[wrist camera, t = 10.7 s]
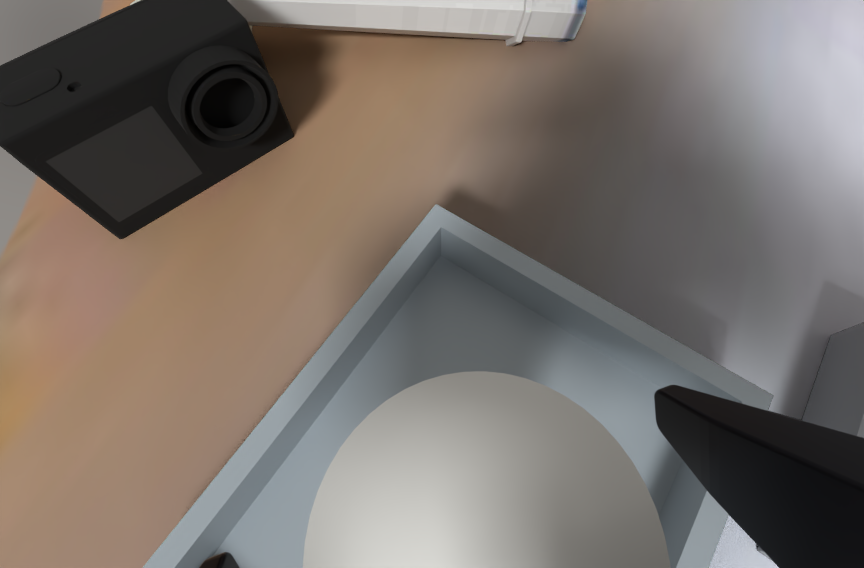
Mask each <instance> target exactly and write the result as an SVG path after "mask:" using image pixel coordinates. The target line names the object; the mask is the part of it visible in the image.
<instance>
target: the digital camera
mask: <svg viewBox="0 0 864 568" xmlns="http://www.w3.org/2000/svg"><path fill="white" fill-rule="evenodd" d="M293 136H294V135H293V132H292V129H291V127H290V124H289V122H288V119H287V117H286V114H285V112H284V110H283V107H282V105H281V102H280V100H279V97H278V93H277V89H276V86H275V84H274V82H273V80H272V78H271V77H270V75H269V73H268V71H267V68H266V66H265V63H264V61H263V58H262V56H261V54H260V51H259V49H258V46H257V44H256V41H255V39H254V36H253V34H252V32H251V29H250V27H249V24H248V22H247V20H246V18H244V17H243V16H242V15H241V14H240V13H239V12H238V11H237V10H236V9H235V8H234V7H233V6H232V5H231V4H230V3H229V2H228V1H227V0H140V1H138V2H136V3H134V4H132V5H130V6H127V7H125V8H123V9H121V10H119V11H116V12H114V13H112V14H110V15H108V16H106V17H103V18H101V19H99V20H97V21H95V22H93V23H90V24H88V25H86V26H84V27H82V28H80V29H77V30H76V31H73V32H71V33H69V34H66V35H64V36H62V37H60V38H58V39H56V40H53V41H51V42H49V43H47V44H45V45H43V46H41V47H39V48H37V49H35V50H32V51H30V52H28V53H26V54H24V55H22V56H20V57H18V58H15V59H13V60H11V61H9V62H7V63H5V64H3V65H1V66H0V146H1V147H2V148H3V149H5V150H6V151H7V152H8V153H10V154H11V155H12V156H13V157H14V158H16V159H17V160H18V161H19V162H20V163H22V164H23V165H24V166H26V167H27V168H28V169H29V170H31V171H32V172H33V173H35V174H36V175H37V176H39V177H40V178H41V179H42V180H44V181H45V182H46V183H48V184H49V185H50V186H52V187H53V188H54V189H55V190H57V191H58V192H59V193H61V194H62V195H63V196H65V197H66V198H67V199H68V200H70V201H71V202H72V203H74V204H75V205H76V206H78V207H79V208H80V209H81V210H83V211H84V212H85V213H87V214H88V215H89V216H90V217H92V218H93V219H94V220H96V221H97V222H98V223H99V224H101V225H102V226H103V227H105V228H106V229H107V230H109V231H110V232H111V233H113V234H114V235H115V236H117V237H118V238H119V239H123V238H124V237H126V236H128V235H130V234H131V233H133V232H135V231H137V230H138V229H140V228H142V227H143V226H145V225H147V224H149V223H150V222H152V221H154V220H155V219H157V218H159V217H160V216H162V215H164V214H165V213H167V212H169V211H170V210H172V209H174V208H175V207H177V206H179V205H181V204H182V203H184V202H186V201H187V200H189V199H191V198H192V197H194V196H196V195H197V194H199V193H201V192H202V191H204V190H206V189H207V188H209V187H211V186H213V185H214V184H216V183H218V182H219V181H221V180H223V179H224V178H226V177H228V176H229V175H231V174H233V173H234V172H236V171H238V170H239V169H241V168H243V167H244V166H246V165H248V164H249V163H251V162H253V161H254V160H256V159H258V158H259V157H261V156H263V155H264V154H266V153H268V152H269V151H271V150H272V149H274V148H276V147H277V146H279V145H281V144H282V143H284V142H286V141H287V140H289V139H291V138H292V137H293Z"/></svg>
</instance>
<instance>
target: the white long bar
mask: <svg viewBox="0 0 864 568" xmlns="http://www.w3.org/2000/svg"><path fill="white" fill-rule="evenodd" d="M138 1H140V0H136V1H134V2H132V3H131V4H130V5H132V4H134V3H136V2H138ZM227 1H228V2H229V3H230V4H231V5H232V6H233V7H234V8H235V9H236V10H237V11H238V12H239V13H240V14H241V15H242V16H243V17H244V18H246V20H247V22H248V24H249V27H250V29H251V32H252V26H270V27H287V28H305V29H323V30H340V31H358V32H376V33H393V34H411V35H429V36H446V37H464V38H482V39H500V40H505V41H506V45H507V46H514V45H516V44H518V43H521V41H555V42H567V41H570V40H573V39H575V36H576V34H577V32H578V30H579V28H580V25H581V23H582V21H583V19H584V17H585V14H586V6H587V0H227Z"/></svg>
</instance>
